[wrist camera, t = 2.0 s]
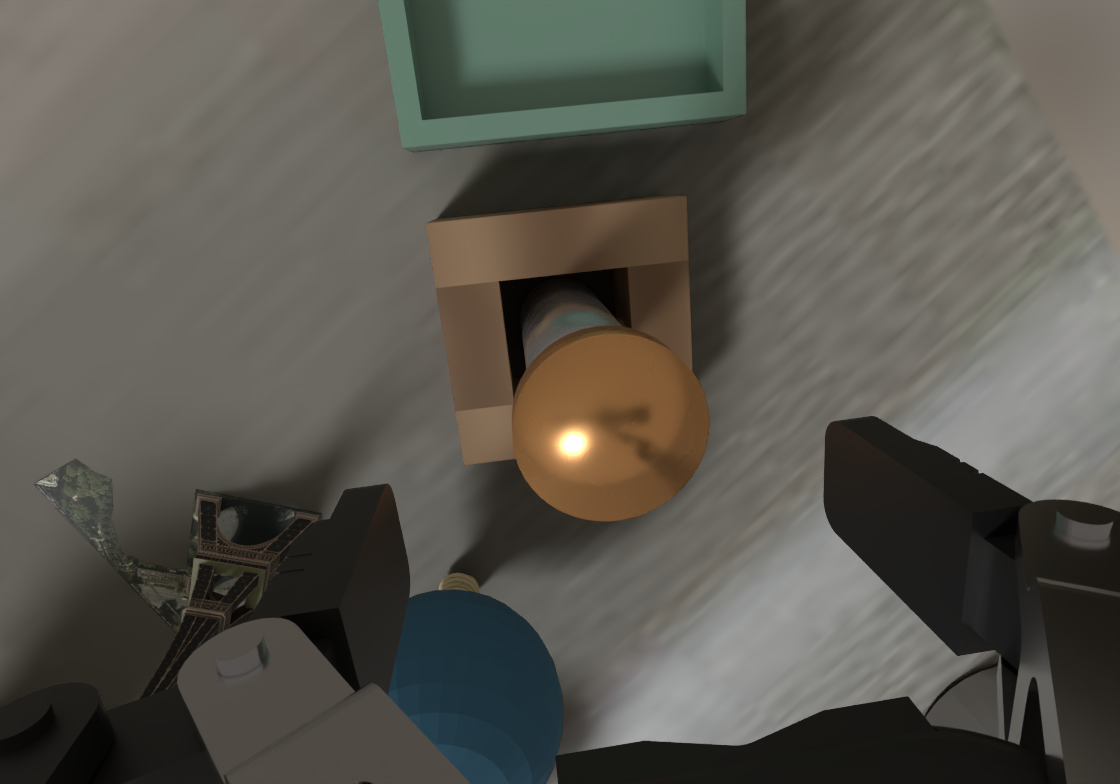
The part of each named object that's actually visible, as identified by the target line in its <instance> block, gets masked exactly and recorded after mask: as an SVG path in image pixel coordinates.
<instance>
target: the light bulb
mask: <svg viewBox="0 0 1120 784" xmlns="http://www.w3.org/2000/svg"><path fill="white" fill-rule="evenodd" d="M388 696H389V697H390V698H391V700H392V701H393V702H394V703H395V704H396V705H397V706H398V707H399V708H400V709H401V710H402V711H403V712H404V713H405V714H406V715H407V716H408V718H409V719H410V720H411V721H412V722H413V723H414V724H415V725H416V726H417V727H418V728H419V729H420V730H421V731H422V732H423V733H424V735H425V736H426V737H427V738H428V739H429V740H430V741H431V742H432V743H433V744H434V745H435V746H436V747H437V748H438V749H439V750H440V752H441V753H442V754H443V755H444V756H445V757H446V758H447V759H448V760H449V761H450V762H451V763H452V764H453V765H454V766H455V767H456V769H457V770H458V771H459V772H460V773H461V774H462V775H463V776H464V777H465V778H466V779H467V780H468V781H469V782H470V783H471V784H546V783H547V781H548V779H549V777H550V775H551V773H552V771H553V769H554V765H555V761H556V758H555V756H557V753H558V749H559V745H560V741H561V736H562V729H563V700H562V692H561V688H560V684H559V680H558V676H557V672H556V668H555V664H554V661H553V659H552V657H551V656H550V654H549V652H548V650H547V648H546V646H545V645H544V643H543V641H542V640H541V638H540V636H539V634H538V633H537V632H536V631H535V630H534V628H533V627H532V626H531V625H530V624H529V623H528V622H527V620H525V619H524V618H523V617H521V616H520V615H519V614H518V613H516V612H515V611H514V610H512V609H511V608H510V607H508V606H507V605H506V604H504V603H502V602H500V601H498V600H496V599H494V598H492V597H490V596H487V595H483V594H480V593H479V586H478V583H477V581H476V580H475V579H474V578H473V577H472V576H470V575H467V574H462V573H453V574H450V575H448V576H446V577H445V578H444V579H443V580H442V581H441V584H440V586H439V590H435V591H431V592H426V593H422V594H418V595H415V596H413V597H410V598H409V599H408V604H407V609H406V613H405V618H404V623H403V627H402V632H401V637H400V642H399V646H398V651H397V656H396V660H395V665H394V670H393V674H392V679H391V684H390V688H389V693H388Z"/></svg>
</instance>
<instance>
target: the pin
mask: <svg viewBox="0 0 1120 784" xmlns="http://www.w3.org/2000/svg"><path fill="white" fill-rule="evenodd" d="M521 329H522V338H523V346H524V354H525V362H526V371H525V373H524V374H523V376H522V378H521V380H520V382H519V384H518V387H517V390H516V393H515V396H514V401H513V405H512V441H513V449H514V454H515V458H516V461H517V463H518V466H519V469H520V471H521V472H522V474H523V476H524V478H525V480H526V481H527V482H528V484H529V485H530V487H531V488H532V489H533V490H534V491H535V492H536V493H537V494H538V495H539V496H540V497H541V498H542V499H543V500H544V501H546V502H547V503H548V504H549V505H551V506H553V507H554V508H556V509H558V510H559V511H562V512H564V513H566V514H568V515H571V516H574V517H578V518H581V519H586V520H592V521H619V520H624V519H629V518H633V517H636V516H640V515H643V514H645V513H647V512H650V511H652V510H654V509H656V508H657V507H659V506H661V505H663V504H664V503H666V502H667V501H668V500H670V499H671V498H672V497H674V496H675V495H676V494H677V493H678V492H679V491H680V490H681V489H682V488H683V487H684V486H685V485H686V484H687V482H688V481H689V480H690V479H691V477H692V476H693V474H694V473H695V471H696V469H697V468H698V466H699V464H700V462H701V460H702V457H703V455H704V452H705V449H706V445H707V441H708V435H709V411H708V405H707V401H706V397H705V395H704V392H703V389H702V387H701V385H700V383H699V381H698V380H697V378H696V376H695V375H694V373H693V372H692V371H691V370H690V368H689V367H688V366H687V365H686V364H685V363H684V362H683V361H682V360H681V359H680V358H679V357H678V356H677V355H676V354H675V353H674V352H673V351H672V350H671V349H670V348H669V347H667V346H666V345H665V344H664V343H662V342H661V341H659V340H658V339H656V338H654V337H653V336H651V335H649V334H647V333H644V332H641V331H639V330H636V329H632V328H627V327H623V326H622V325H621V324H620V323H619V322H618V321H617V320H616V319H615V317H614V316H613V315H612V314H611V313H610V312H609V310H608V309H607V308H606V307H605V306H604V305H603V304H602V302H601V301H600V300H599V299H598V298H597V297H596V296H595V294H594V293H593V292H592V291H591V290H590V289H589V288H588V287H587V286H585V285H584V284H582V283H580V282H579V281H576V280H573V279H569V278H555V279H550V280H547V281H545V282H543V283H541V284H539V285H538V286H537V287H535V288H534V289H533V290H532V291H531V292H530V293H529V295H528V296H527V298H526V299H525V301H524V304H523V306H522V310H521Z"/></svg>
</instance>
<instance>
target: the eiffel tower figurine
mask: <svg viewBox="0 0 1120 784" xmlns="http://www.w3.org/2000/svg"><path fill="white" fill-rule="evenodd" d="M34 485H35V486H36V487H37V488H38V490H39V491H40V492H41V493H42V494H43V495H44V496H45V497H46V498H47V499H48V500H49V501H50V502H51V503H52V504H53V505H54V507H55V508H56V509H57V510H58V511H59V512H60V513H61V514H62V515H63V516H64V517H65V518H66V519H67V520H68V521H69V522H70V523H71V524H72V525H73V526H74V527H75V528H76V529H77V530H78V531H79V532H80V533H81V534H82V535H83V536H84V537H85V538H86V539H87V540H88V541H89V542H90V543H91V544H92V545H93V547H94V548H95V549H96V550H97V551H98V552H99V553H100V554H101V555H102V556H103V557H104V558H105V559H106V560H107V561H108V562H109V563H110V564H111V565H112V566H113V567H114V568H115V570H116V571H117V572H118V573H119V574H120V575H121V576H122V577H123V578H124V579H125V580H126V581H127V582H128V583H129V584H130V586H131V587H132V588H133V589H134V590H135V591H136V592H137V593H138V594H139V595H140V596H141V597H142V598H143V599H144V600H145V601H146V602H147V603H148V605H149V606H150V607H151V608H152V609H153V610H154V611H155V612H156V613H157V614H158V615H159V616H160V617H161V618H162V619H163V620H164V621H165V622H166V623H167V624H168V625H169V626H170V627H171V628H172V629H173V631H174V632H175V633H176V635H175V637H174V639H173V641H172V643H171V645H170V646H169V648H168V650H167V652H166V654H165V656H164V658H163V659H162V661H161V663H160V664H159V666H158V668H157V669H156V671H155V673H154V674H153V676H152V678H151V679H150V681H149V683H148V684H147V686H146V688H145V689H144V691H143V693H142V694H141V696H140V697H139V699H141V698H144V697H147V696H150V695H153V694H155V693H158V692H161V691H164V690H166V689H169V688H171V687H174V686H176V685H178V684H177V679H178V674H179V671H180V669H181V667H182V666H183V664H184V662H185V661H186V660H187V659H188V658H189V656H190V655H191V654H192V653H193V652H194V651H195V650H197V649H198V648H199V647H200V646H201V645H203V644H204V643H205V642H207V641H208V640H210V639H211V638H213V637H214V636H216V635H218V634H220V633H221V632H223V631H225V630H227V629H230V628H232V627H234V626H237V625H240V624H242V623H245V622H247V621H248V620H249V618H250V616H251V615H252V613H253V611H254V609H255V608H256V606H257V604H258V602H259V601H260V599H261V597H262V595H263V594H264V592H265V590H266V589H267V587H268V585H269V583H270V582H271V580H272V578H273V577H276V571H277V569H278V568H279V566H280V564H281V563H282V561H285V556H286V554H287V552H288V550H289V549H290V547H291V545H292V543H293V542H294V540H295V538H297V537H298V536H299V535H300V534H302V533H303V532H304V531H305V530H306V529H308V528H309V527H310V526H311V525H312V524H314V523H315V522H316V521H321V519H322V513H317V512H312V511H306V510H301V509H296V508H291V507H286V506H281V505H275V504H270V503H265V502H260V501H255V500H249V499H244V498H239V497H234V496H229V495H224V494H218V493H213V492H208V491H203V490H198V489H196V492H195V501H194V509H193V518H192V527H191V536H190V545H189V553H188V562H187V570H182V569H170V568H166V567H162V566H158V565H154V564H149V563H146V562H144V561H141V560H139V559H137V558H134V557H132V556H129V555H126V554H124V553H122V551H121V549H120V546H119V544H118V541H117V537H116V533H115V529H114V526H113V522H112V512H113V494H112V479H110V478H108V477H106V476H104V475H101V474H99V473H97V472H95V471H93V470H91V469H90V468H89V467H87V466H86V465H84V464H83V463H82V462H80V461H79V460H77V459H74V460H73V461H71V462H69V463H68V464H66V465H65V466H63V467H61V468H60V469H58V470H57V471H55V472H53V473H52V474H50V475H48V476H47V477H45V478H44V479H42V480H40V481H39V482H37V483H36V484H34ZM139 699H138V700H139Z"/></svg>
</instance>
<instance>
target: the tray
mask: <svg viewBox="0 0 1120 784" xmlns="http://www.w3.org/2000/svg"><path fill="white" fill-rule="evenodd" d="M378 4H379V10H380V16H381V22H382V28H383V34H384V40H385V46H386V52H387V58H388V64H389V70H390V76H391V83H392V89H393V95H394V101H395V107H396V113H397V119H398V125H399V131H400V137H401V143H402V148H404V149H406V150H408V151H411V152H420V151H431V150H441V149H451V148H461V147H471V146H481V145H491V144H501V143H511V142H521V141H531V140H542V139H552V138H562V137H572V136H582V135H592V134H602V133H612V132H622V131H632V130H642V129H652V128H663V127H673V126H683V125H693V124H703V123H713V122H723V121H726V120H729V119H732V118H735V117H738V116H742V115H745V114H746V0H378Z"/></svg>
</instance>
